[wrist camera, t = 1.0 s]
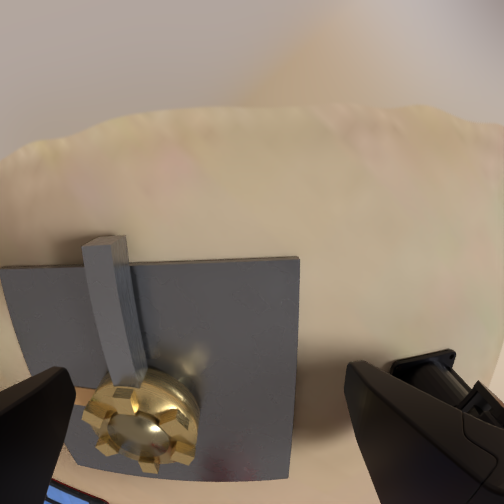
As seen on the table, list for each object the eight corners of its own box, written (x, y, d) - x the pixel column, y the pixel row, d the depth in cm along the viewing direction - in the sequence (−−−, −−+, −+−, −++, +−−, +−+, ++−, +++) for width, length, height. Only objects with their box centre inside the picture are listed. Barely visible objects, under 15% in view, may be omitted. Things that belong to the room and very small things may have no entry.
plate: (298, 256, 19) (299, 259, 19) (287, 473, 25) (288, 478, 24) (2, 267, 18) (-2, 269, 18) (79, 460, 24) (77, 464, 23)
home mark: (95, 389, 21) (95, 390, 20) (102, 407, 21) (102, 408, 21) (35, 380, 20) (34, 380, 20) (43, 397, 21) (42, 398, 21)
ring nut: (205, 443, 22) (203, 476, 18) (114, 436, 21) (103, 465, 18) (176, 232, 17) (162, 247, 14) (58, 239, 17) (26, 254, 14)
